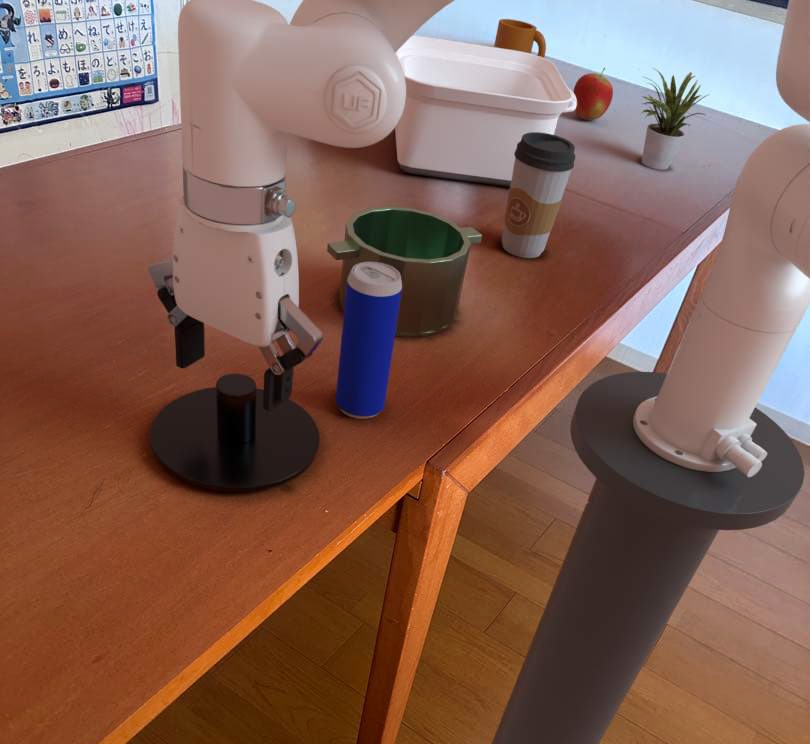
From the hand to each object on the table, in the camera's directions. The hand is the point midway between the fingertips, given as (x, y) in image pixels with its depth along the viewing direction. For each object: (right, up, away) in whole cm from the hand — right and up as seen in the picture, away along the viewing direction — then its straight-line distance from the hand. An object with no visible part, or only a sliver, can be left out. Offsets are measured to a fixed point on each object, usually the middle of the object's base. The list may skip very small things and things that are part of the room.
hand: (232, 382), depth 74 cm
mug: (+42, +97, +119) cm, 159 cm away
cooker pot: (+15, +15, +29) cm, 36 cm away
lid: (-1, -4, +4) cm, 6 cm away
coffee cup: (+33, +29, +47) cm, 64 cm away
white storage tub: (+26, +53, +70) cm, 92 cm away
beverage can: (+11, 0, +12) cm, 16 cm away
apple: (+54, +74, +98) cm, 134 cm away
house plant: (+63, +59, +84) cm, 121 cm away
